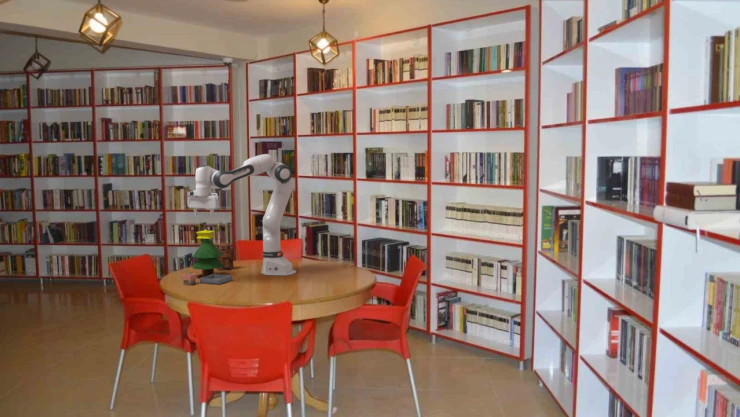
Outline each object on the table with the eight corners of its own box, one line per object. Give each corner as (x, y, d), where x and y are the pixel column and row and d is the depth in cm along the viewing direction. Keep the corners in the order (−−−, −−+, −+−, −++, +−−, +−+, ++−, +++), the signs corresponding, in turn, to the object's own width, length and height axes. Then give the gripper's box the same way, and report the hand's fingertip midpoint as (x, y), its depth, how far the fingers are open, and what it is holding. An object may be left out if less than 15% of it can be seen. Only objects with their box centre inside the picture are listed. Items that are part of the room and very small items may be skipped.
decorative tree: (215, 279, 370) (213, 231, 367) (186, 278, 374) (185, 230, 371) (228, 273, 389) (227, 227, 386) (201, 272, 392) (199, 227, 390)
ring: (196, 278, 359) (196, 273, 359) (190, 280, 353) (190, 275, 353) (188, 278, 361) (188, 273, 361) (182, 279, 355) (181, 274, 355)
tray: (232, 280, 368) (232, 275, 368) (219, 284, 355) (219, 279, 355) (213, 278, 372) (213, 274, 372) (200, 283, 360) (199, 278, 360)
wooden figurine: (215, 270, 400) (214, 243, 398) (216, 268, 406) (215, 242, 404) (233, 270, 401) (233, 243, 400) (234, 268, 408) (233, 241, 406)
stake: (195, 283, 359) (195, 272, 358) (190, 285, 354) (190, 273, 354) (188, 283, 361) (188, 271, 360) (183, 284, 356) (183, 273, 355)
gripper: (221, 193, 357) (221, 216, 358) (192, 192, 364) (192, 215, 365) (215, 193, 351) (215, 217, 352) (185, 192, 358) (186, 215, 359)
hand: (203, 216), depth 359 cm, fingers open, 8 cm apart
